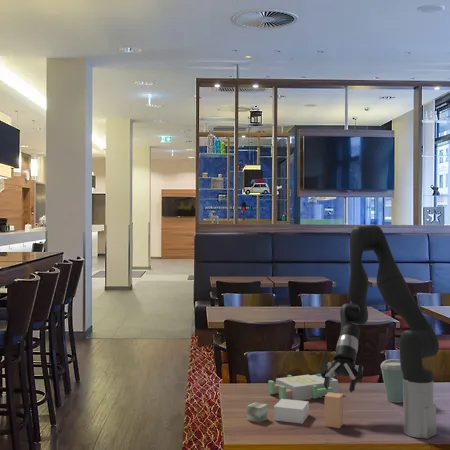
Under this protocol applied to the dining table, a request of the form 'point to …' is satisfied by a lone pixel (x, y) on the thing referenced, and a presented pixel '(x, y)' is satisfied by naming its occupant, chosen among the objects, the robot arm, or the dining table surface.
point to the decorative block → (302, 387)
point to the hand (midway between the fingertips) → (338, 389)
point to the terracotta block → (333, 410)
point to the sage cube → (257, 412)
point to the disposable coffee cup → (393, 380)
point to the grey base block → (291, 411)
